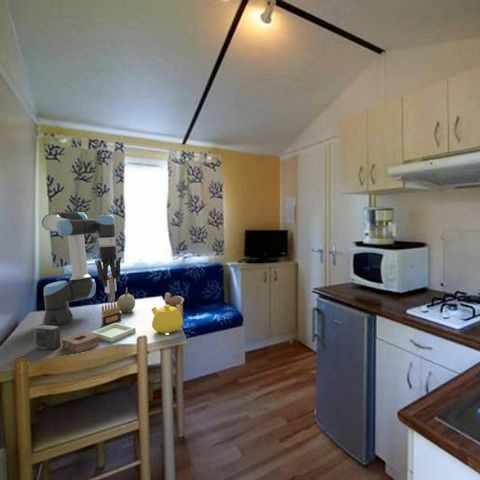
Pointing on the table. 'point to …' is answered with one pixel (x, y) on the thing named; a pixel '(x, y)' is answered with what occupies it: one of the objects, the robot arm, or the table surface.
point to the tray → (113, 332)
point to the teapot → (166, 319)
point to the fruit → (126, 302)
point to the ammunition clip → (110, 314)
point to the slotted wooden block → (80, 342)
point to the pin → (111, 289)
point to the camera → (47, 337)
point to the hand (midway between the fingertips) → (110, 291)
